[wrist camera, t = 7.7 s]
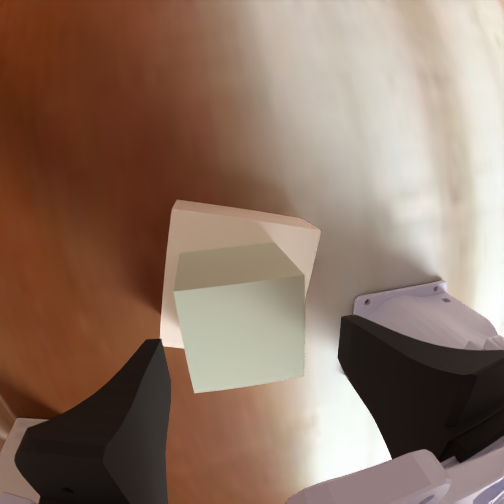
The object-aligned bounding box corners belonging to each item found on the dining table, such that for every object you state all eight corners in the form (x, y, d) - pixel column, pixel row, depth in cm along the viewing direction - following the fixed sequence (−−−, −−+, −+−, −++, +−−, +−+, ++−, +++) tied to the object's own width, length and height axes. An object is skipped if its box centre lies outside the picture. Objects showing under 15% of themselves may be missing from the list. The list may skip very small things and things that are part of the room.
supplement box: (15, 415, 22) (-26, 509, 10) (73, 418, 23) (40, 531, 11) (47, 460, 24) (24, 548, 12) (103, 465, 25) (89, 565, 13)
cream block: (299, 217, 21) (321, 230, 17) (275, 324, 23) (290, 355, 19) (176, 199, 19) (171, 208, 16) (164, 314, 21) (159, 345, 18)
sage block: (274, 242, 17) (304, 274, 12) (278, 324, 18) (304, 376, 14) (179, 253, 16) (173, 291, 12) (193, 336, 18) (194, 393, 13)
